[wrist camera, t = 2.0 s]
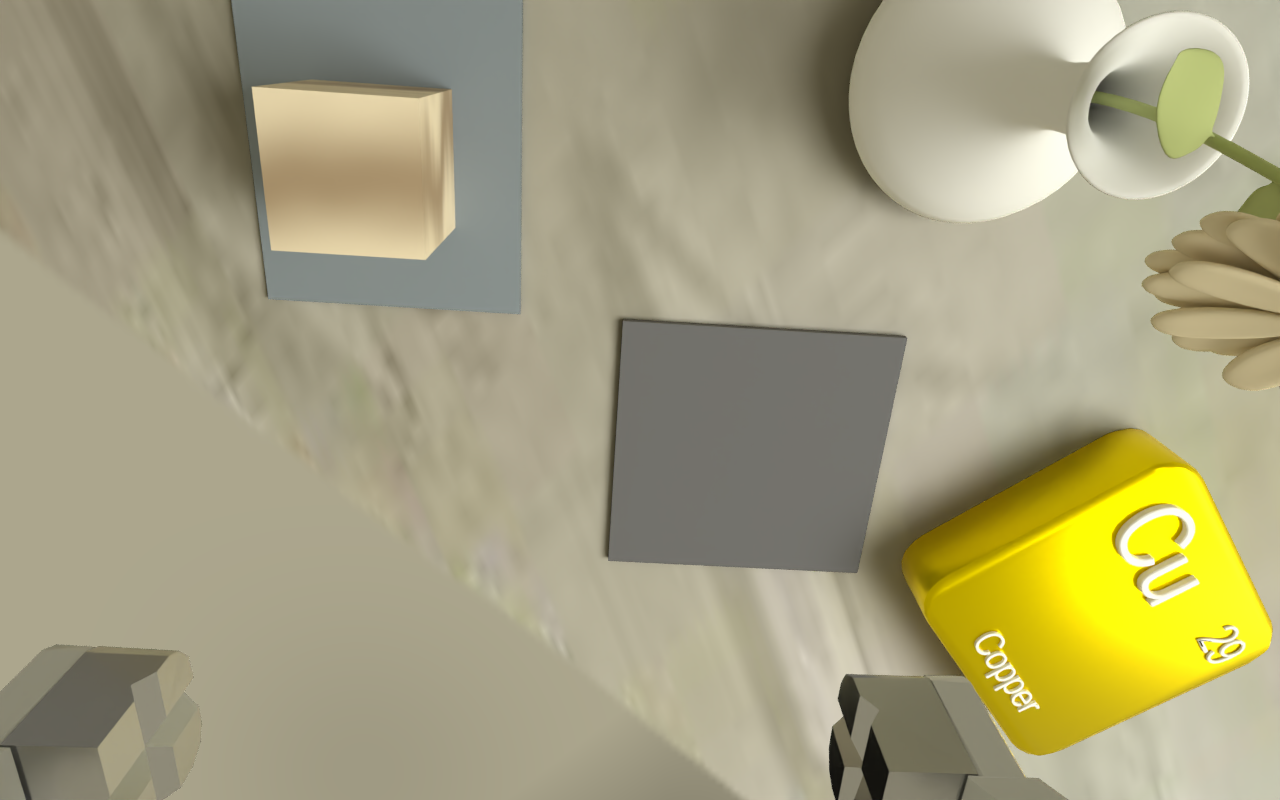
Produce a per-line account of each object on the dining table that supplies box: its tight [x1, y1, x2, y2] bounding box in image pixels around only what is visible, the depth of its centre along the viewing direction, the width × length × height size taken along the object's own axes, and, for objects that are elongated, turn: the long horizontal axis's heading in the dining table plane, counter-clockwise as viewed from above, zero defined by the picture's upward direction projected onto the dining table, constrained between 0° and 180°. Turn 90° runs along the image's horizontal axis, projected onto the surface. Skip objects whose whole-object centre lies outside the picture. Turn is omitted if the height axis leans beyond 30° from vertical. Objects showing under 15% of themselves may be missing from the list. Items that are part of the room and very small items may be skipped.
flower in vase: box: [849, 0, 1280, 391], centre depth 24 cm, size 13×11×25 cm
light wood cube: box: [252, 79, 455, 260], centre depth 33 cm, size 6×6×6 cm
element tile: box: [901, 428, 1273, 756], centre depth 44 cm, size 15×15×5 cm
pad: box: [608, 319, 907, 573], centre depth 42 cm, size 14×14×1 cm
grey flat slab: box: [231, 0, 523, 314], centre depth 36 cm, size 14×12×1 cm
